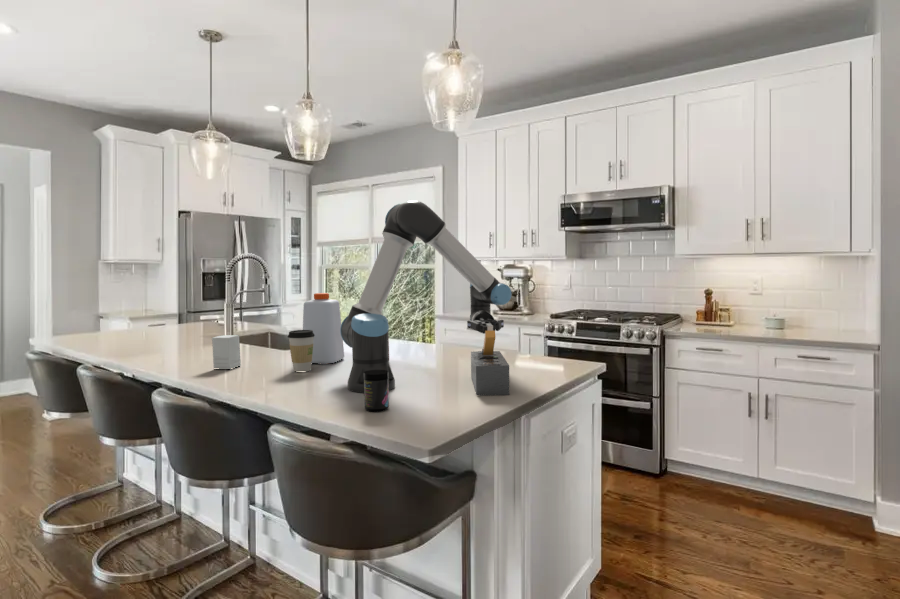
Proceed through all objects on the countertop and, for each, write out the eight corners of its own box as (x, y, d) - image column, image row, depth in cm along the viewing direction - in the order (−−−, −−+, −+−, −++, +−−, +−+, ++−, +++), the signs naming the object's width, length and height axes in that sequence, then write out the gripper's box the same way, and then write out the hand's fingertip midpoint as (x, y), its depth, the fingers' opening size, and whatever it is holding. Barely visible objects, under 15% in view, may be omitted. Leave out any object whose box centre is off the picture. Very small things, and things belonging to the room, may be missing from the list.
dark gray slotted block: (468, 369, 203) (468, 344, 203) (495, 368, 203) (495, 343, 203) (476, 395, 163) (476, 364, 163) (509, 394, 164) (509, 364, 163)
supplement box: (241, 366, 214) (240, 335, 213) (229, 370, 207) (228, 337, 206) (225, 366, 215) (223, 334, 215) (212, 369, 208) (211, 337, 207)
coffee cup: (321, 369, 206) (320, 330, 205) (301, 374, 197) (300, 333, 196) (303, 367, 211) (302, 329, 210) (283, 371, 203) (281, 332, 202)
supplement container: (381, 413, 145) (380, 375, 144) (359, 411, 148) (358, 373, 147) (393, 407, 151) (392, 370, 151) (372, 405, 154) (371, 368, 153)
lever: (481, 350, 180) (484, 330, 169) (492, 349, 180) (495, 330, 169) (482, 356, 179) (484, 337, 168) (493, 356, 179) (496, 337, 168)
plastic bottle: (347, 358, 230) (345, 292, 228) (333, 365, 215) (331, 294, 213) (313, 357, 232) (311, 292, 230) (297, 364, 218) (295, 294, 216)
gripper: (501, 331, 196) (511, 341, 172) (465, 332, 195) (470, 342, 172) (501, 310, 195) (511, 317, 172) (465, 311, 195) (469, 318, 171)
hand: (490, 330), depth 172 cm, fingers closed
